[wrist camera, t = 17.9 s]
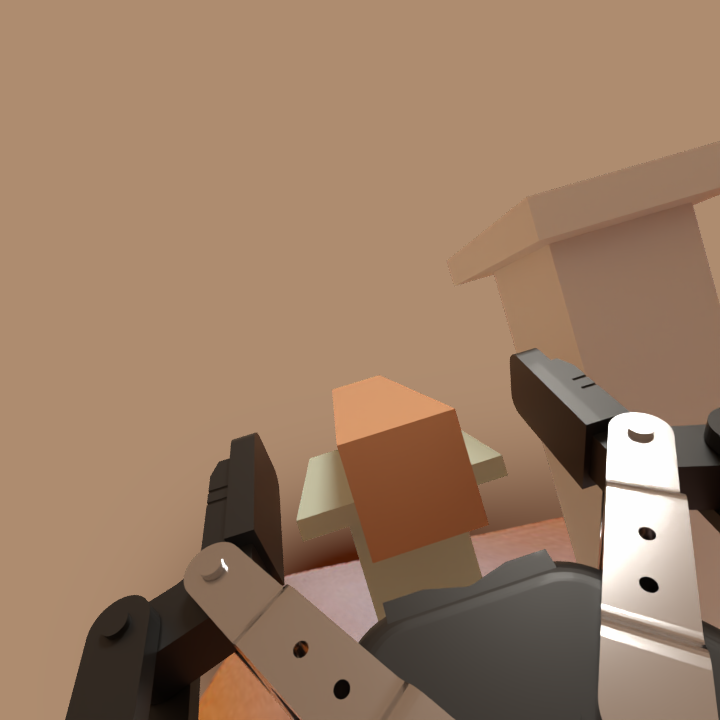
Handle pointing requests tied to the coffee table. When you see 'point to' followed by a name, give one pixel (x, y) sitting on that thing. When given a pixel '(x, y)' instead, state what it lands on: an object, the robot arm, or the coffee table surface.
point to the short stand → (405, 571)
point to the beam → (404, 467)
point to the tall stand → (617, 310)
